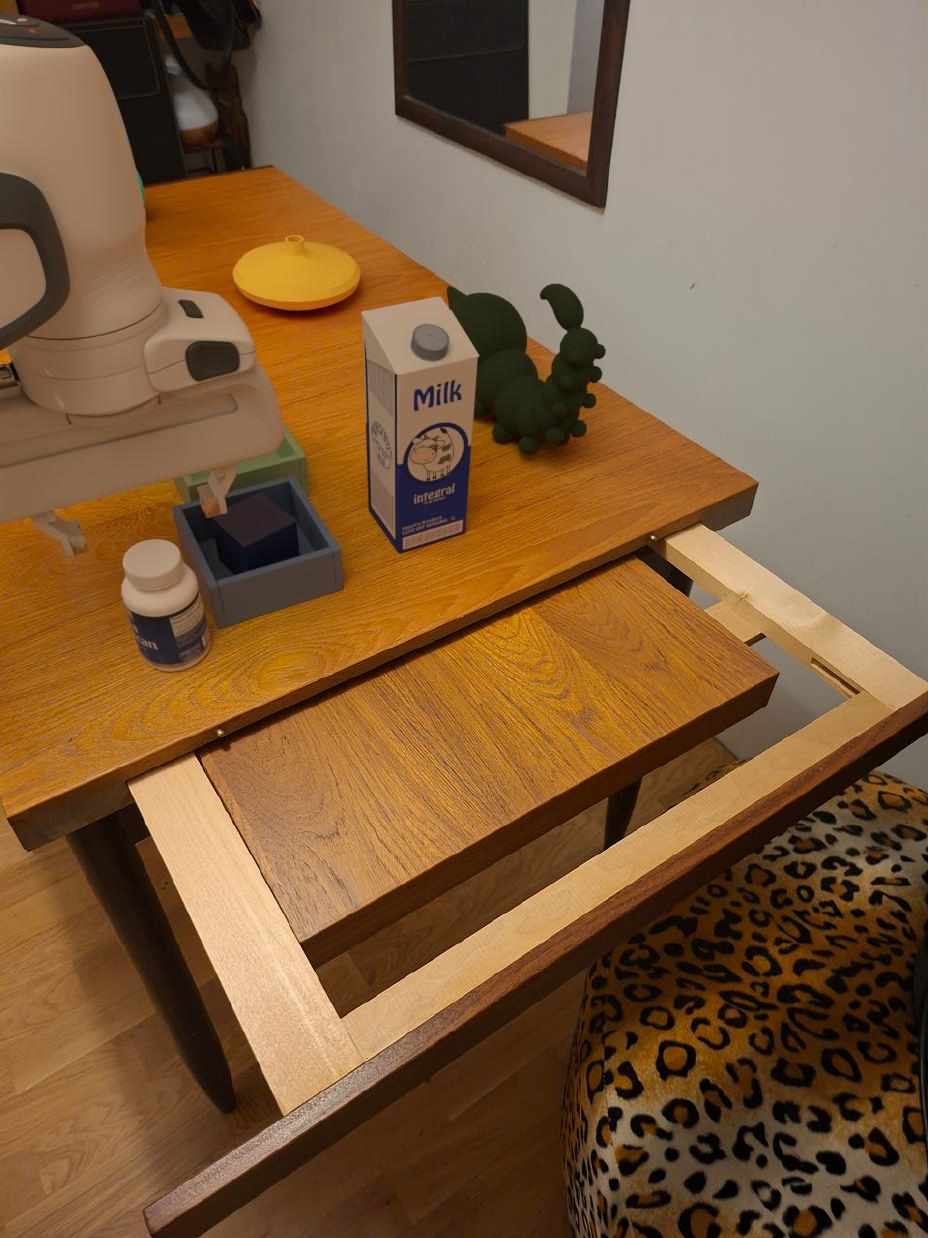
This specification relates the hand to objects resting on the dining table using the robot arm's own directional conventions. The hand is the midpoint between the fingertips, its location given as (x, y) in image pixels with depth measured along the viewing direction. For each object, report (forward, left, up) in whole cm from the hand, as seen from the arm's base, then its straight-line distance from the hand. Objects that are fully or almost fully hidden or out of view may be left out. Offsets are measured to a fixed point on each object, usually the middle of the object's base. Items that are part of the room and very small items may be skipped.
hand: (147, 529), depth 60 cm
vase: (+30, +52, -12) cm, 61 cm away
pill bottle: (0, 0, -12) cm, 12 cm away
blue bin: (+9, +6, -12) cm, 16 cm away
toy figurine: (+40, +18, -12) cm, 45 cm away
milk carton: (+24, +6, -12) cm, 27 cm away
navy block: (+9, +6, -12) cm, 16 cm away
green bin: (+11, +19, -12) cm, 25 cm away
